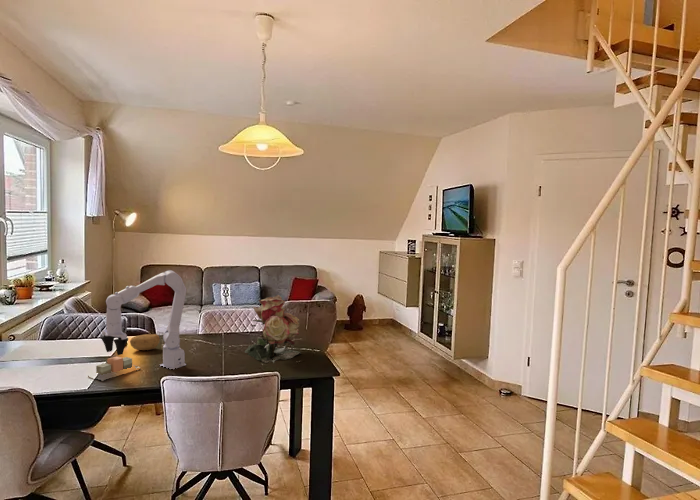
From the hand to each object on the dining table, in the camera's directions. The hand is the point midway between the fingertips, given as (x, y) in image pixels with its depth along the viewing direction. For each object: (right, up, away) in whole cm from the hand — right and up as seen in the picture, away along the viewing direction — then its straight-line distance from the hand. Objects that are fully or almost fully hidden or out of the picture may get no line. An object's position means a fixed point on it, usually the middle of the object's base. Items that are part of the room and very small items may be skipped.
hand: (114, 353), depth 195 cm
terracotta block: (0, -8, +1) cm, 8 cm away
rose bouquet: (+65, -8, +34) cm, 74 cm away
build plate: (0, -9, +1) cm, 9 cm away
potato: (-2, -7, +34) cm, 35 cm away
